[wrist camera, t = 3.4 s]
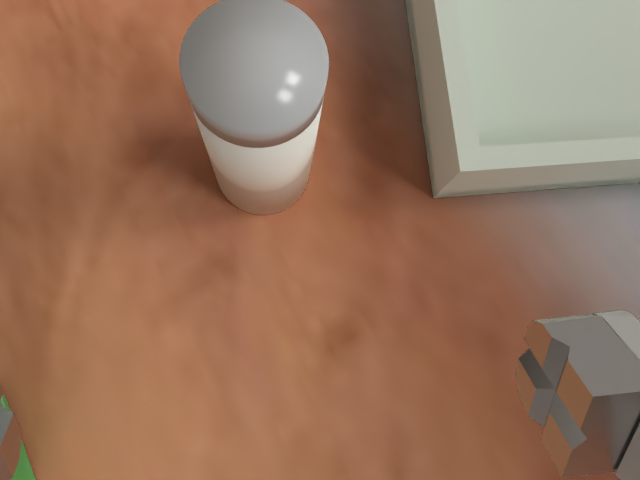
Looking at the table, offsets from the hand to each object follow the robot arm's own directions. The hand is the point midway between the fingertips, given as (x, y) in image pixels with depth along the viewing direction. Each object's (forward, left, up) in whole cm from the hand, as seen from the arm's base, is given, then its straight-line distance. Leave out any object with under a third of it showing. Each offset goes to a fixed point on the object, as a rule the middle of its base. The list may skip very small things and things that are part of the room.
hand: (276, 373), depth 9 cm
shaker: (0, -9, -16) cm, 18 cm away
